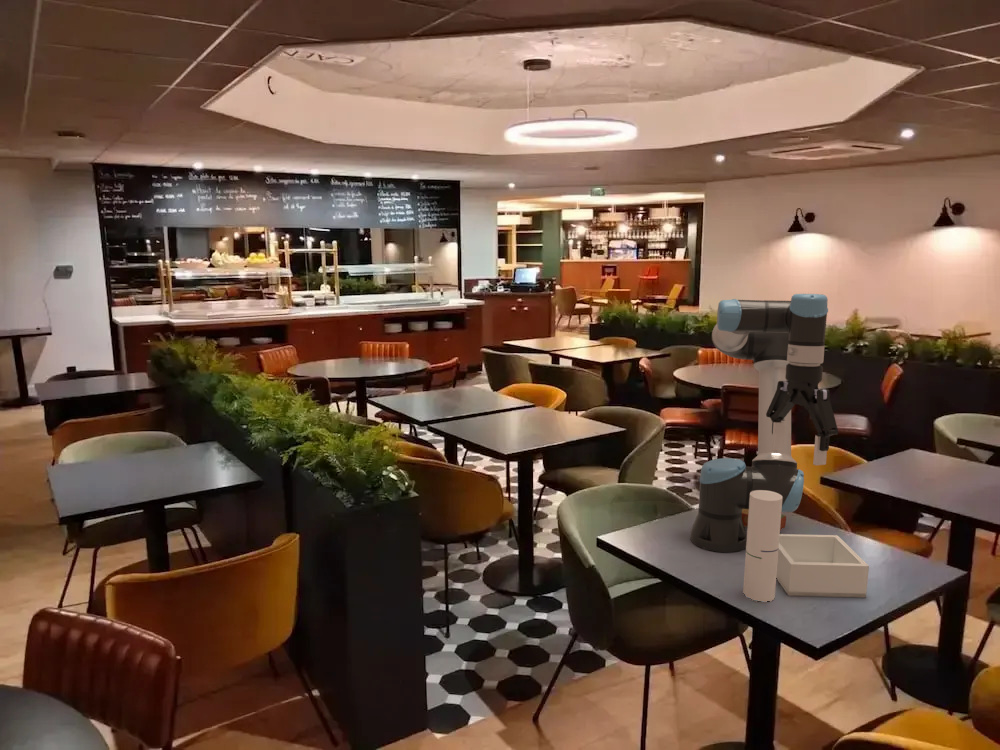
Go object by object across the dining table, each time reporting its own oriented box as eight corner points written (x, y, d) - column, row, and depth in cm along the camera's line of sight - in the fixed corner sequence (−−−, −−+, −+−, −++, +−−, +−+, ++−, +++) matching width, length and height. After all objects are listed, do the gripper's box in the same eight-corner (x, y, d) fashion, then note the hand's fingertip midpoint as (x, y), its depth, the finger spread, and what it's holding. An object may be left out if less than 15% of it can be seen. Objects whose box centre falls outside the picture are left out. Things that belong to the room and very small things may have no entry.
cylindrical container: (777, 603, 168) (785, 501, 163) (745, 600, 169) (752, 499, 165) (772, 589, 175) (779, 491, 170) (741, 586, 176) (747, 489, 172)
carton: (735, 513, 224) (736, 500, 223) (786, 528, 213) (787, 514, 212) (722, 520, 218) (723, 507, 218) (774, 536, 207) (775, 521, 207)
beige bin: (765, 562, 189) (767, 533, 188) (834, 564, 188) (837, 535, 187) (788, 595, 172) (791, 564, 170) (865, 597, 171) (869, 566, 169)
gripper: (754, 357, 170) (748, 444, 174) (832, 372, 147) (824, 473, 150) (780, 356, 173) (774, 442, 176) (861, 371, 149) (853, 470, 152)
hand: (797, 456), depth 163 cm, fingers open, 13 cm apart
